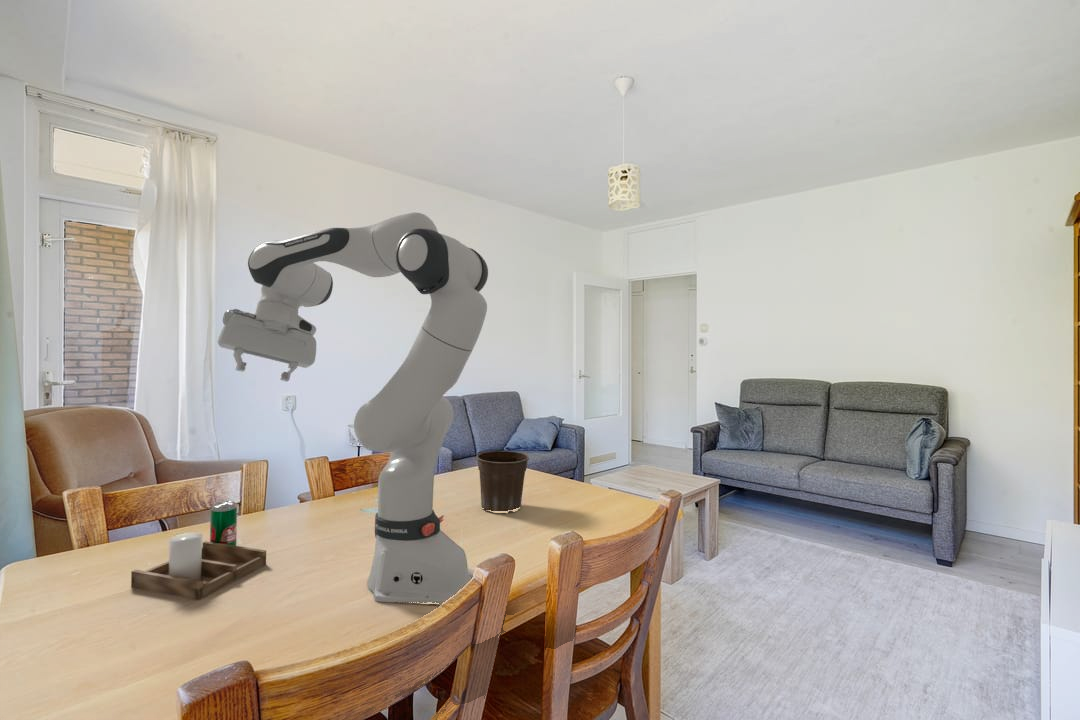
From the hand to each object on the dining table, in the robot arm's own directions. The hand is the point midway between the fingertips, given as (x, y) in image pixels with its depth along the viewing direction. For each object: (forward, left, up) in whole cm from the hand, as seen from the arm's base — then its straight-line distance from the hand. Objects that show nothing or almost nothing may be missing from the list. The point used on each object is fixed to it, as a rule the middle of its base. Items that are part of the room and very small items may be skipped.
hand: (263, 375), depth 113 cm
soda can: (+6, +3, -41) cm, 42 cm away
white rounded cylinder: (0, +18, -40) cm, 44 cm away
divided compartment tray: (0, +14, -41) cm, 43 cm away
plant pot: (-42, -51, -41) cm, 77 cm away
